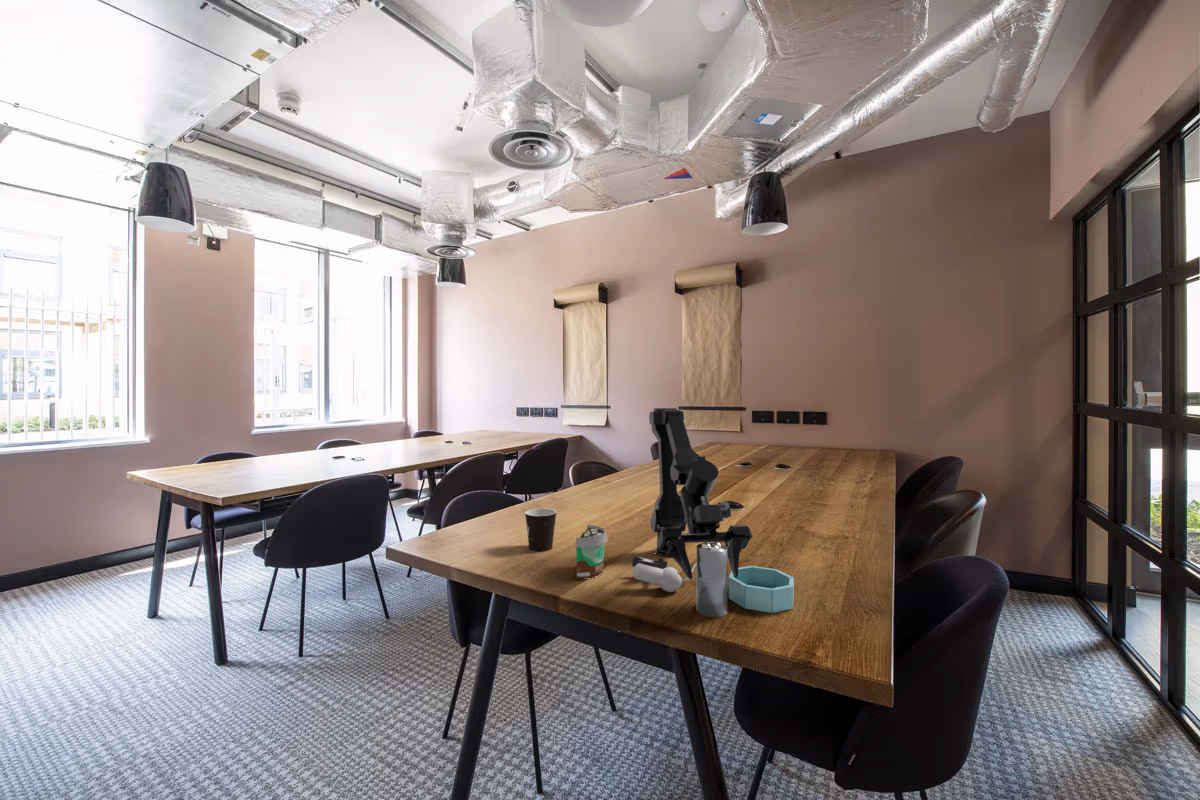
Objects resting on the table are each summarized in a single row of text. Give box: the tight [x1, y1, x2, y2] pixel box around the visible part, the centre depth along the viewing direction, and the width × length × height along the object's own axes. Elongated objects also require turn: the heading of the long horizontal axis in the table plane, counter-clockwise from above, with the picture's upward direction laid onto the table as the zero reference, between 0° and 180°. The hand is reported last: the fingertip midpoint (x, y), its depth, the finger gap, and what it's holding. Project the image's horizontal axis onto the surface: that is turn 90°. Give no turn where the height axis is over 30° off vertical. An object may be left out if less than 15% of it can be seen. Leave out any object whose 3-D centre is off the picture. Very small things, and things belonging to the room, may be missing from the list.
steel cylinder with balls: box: [695, 542, 729, 619], centre depth 96 cm, size 6×6×13 cm
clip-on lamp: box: [631, 555, 697, 593], centre depth 110 cm, size 12×6×18 cm
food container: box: [575, 524, 608, 580], centre depth 116 cm, size 12×6×10 cm, turn 168°
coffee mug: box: [524, 508, 557, 553], centre depth 134 cm, size 12×9×10 cm
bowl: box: [728, 565, 795, 614], centre depth 102 cm, size 13×13×4 cm
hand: (713, 577), depth 95 cm, fingers open, 9 cm apart
